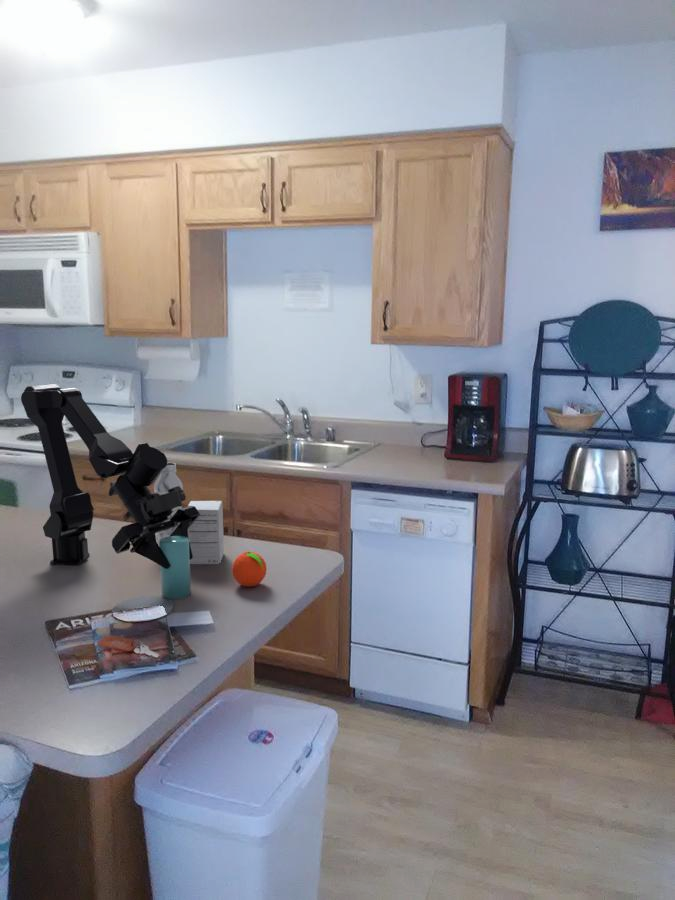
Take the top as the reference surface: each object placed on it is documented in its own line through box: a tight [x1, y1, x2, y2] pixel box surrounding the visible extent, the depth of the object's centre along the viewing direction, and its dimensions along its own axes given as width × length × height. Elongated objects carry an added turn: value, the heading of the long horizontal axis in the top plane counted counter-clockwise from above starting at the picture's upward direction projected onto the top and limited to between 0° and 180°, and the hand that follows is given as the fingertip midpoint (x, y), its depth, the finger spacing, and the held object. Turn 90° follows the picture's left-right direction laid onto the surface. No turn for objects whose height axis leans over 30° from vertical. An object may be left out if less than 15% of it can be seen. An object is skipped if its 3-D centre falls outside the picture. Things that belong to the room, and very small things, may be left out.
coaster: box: [111, 595, 174, 615], centre depth 133 cm, size 11×11×1 cm
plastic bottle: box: [153, 462, 184, 547], centre depth 166 cm, size 6×7×20 cm
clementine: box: [231, 551, 268, 588], centre depth 144 cm, size 8×7×7 cm
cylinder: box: [159, 536, 192, 600], centre depth 139 cm, size 6×6×11 cm
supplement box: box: [187, 500, 225, 565], centre depth 159 cm, size 7×7×13 cm
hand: (180, 563), depth 138 cm, fingers closed on cylinder, 6 cm apart
